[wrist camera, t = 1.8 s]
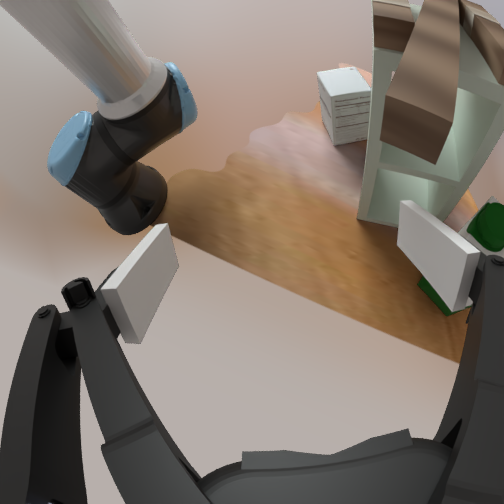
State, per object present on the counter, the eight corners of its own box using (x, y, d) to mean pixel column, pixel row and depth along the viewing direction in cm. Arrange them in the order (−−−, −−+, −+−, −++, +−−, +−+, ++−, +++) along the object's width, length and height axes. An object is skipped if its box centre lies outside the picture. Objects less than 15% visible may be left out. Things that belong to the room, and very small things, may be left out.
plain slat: (435, 165, 11) (452, 122, 9) (379, 140, 13) (385, 94, 10) (455, 10, 16) (456, -10, 13) (430, 1, 17) (431, -20, 14)
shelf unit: (432, 235, 38) (521, 96, 11) (356, 218, 43) (373, 49, 15) (432, 165, 42) (478, 24, 14) (366, 151, 46) (371, -4, 19)
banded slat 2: (525, 95, 11) (536, 69, 8) (497, 83, 12) (507, 54, 9) (478, 25, 14) (482, 5, 11) (455, 17, 15) (457, -4, 12)
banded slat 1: (412, 54, 14) (415, 21, 11) (373, 46, 15) (372, 13, 12) (399, 2, 17) (399, -20, 15) (372, -2, 18) (370, -24, 16)
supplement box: (321, 120, 51) (315, 71, 39) (355, 114, 49) (355, 65, 38) (332, 147, 48) (329, 96, 36) (369, 140, 47) (374, 89, 35)
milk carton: (440, 245, 37) (498, 178, 19) (476, 284, 34) (551, 239, 16) (409, 285, 37) (465, 234, 19) (446, 325, 34) (524, 304, 15)
